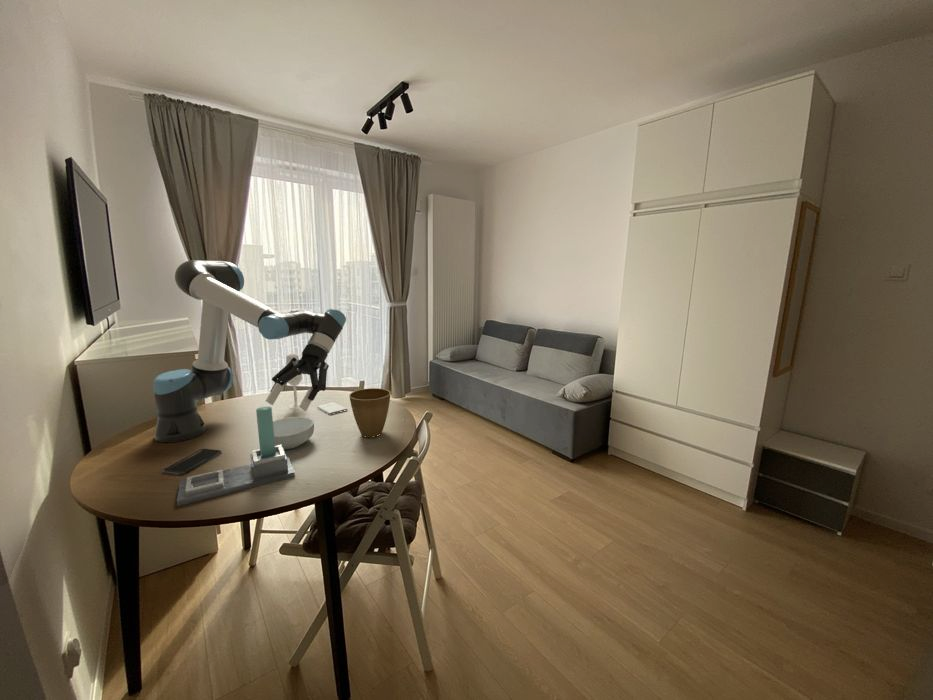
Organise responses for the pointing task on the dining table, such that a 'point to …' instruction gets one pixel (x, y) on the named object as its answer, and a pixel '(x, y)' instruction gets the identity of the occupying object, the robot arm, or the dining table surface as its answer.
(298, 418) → the cereal bowl
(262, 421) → the plug
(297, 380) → the champagne flute
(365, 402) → the plant pot
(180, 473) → the phone
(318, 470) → the dining table surface
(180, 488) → the grey slotted holder
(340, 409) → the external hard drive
